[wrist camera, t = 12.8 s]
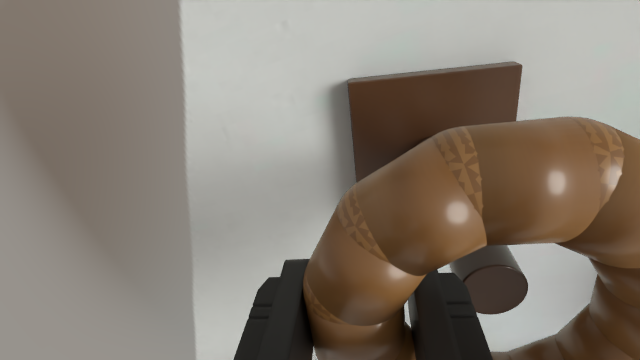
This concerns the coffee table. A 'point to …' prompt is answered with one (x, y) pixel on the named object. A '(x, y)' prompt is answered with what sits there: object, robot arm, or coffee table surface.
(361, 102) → the peg stand
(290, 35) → the coffee table surface
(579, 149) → the cruller donut
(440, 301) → the robot arm
